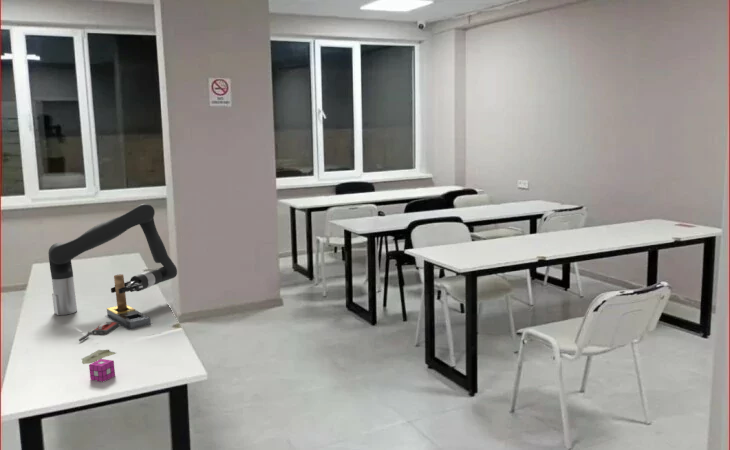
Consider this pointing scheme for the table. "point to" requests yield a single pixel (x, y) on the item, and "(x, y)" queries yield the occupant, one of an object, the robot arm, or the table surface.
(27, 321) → the table surface
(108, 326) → the walkie-talkie
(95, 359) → the topographic map
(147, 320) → the socket rail
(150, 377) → the table surface
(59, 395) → the table surface
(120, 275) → the walnut peg
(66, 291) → the robot arm
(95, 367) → the puzzle toy
